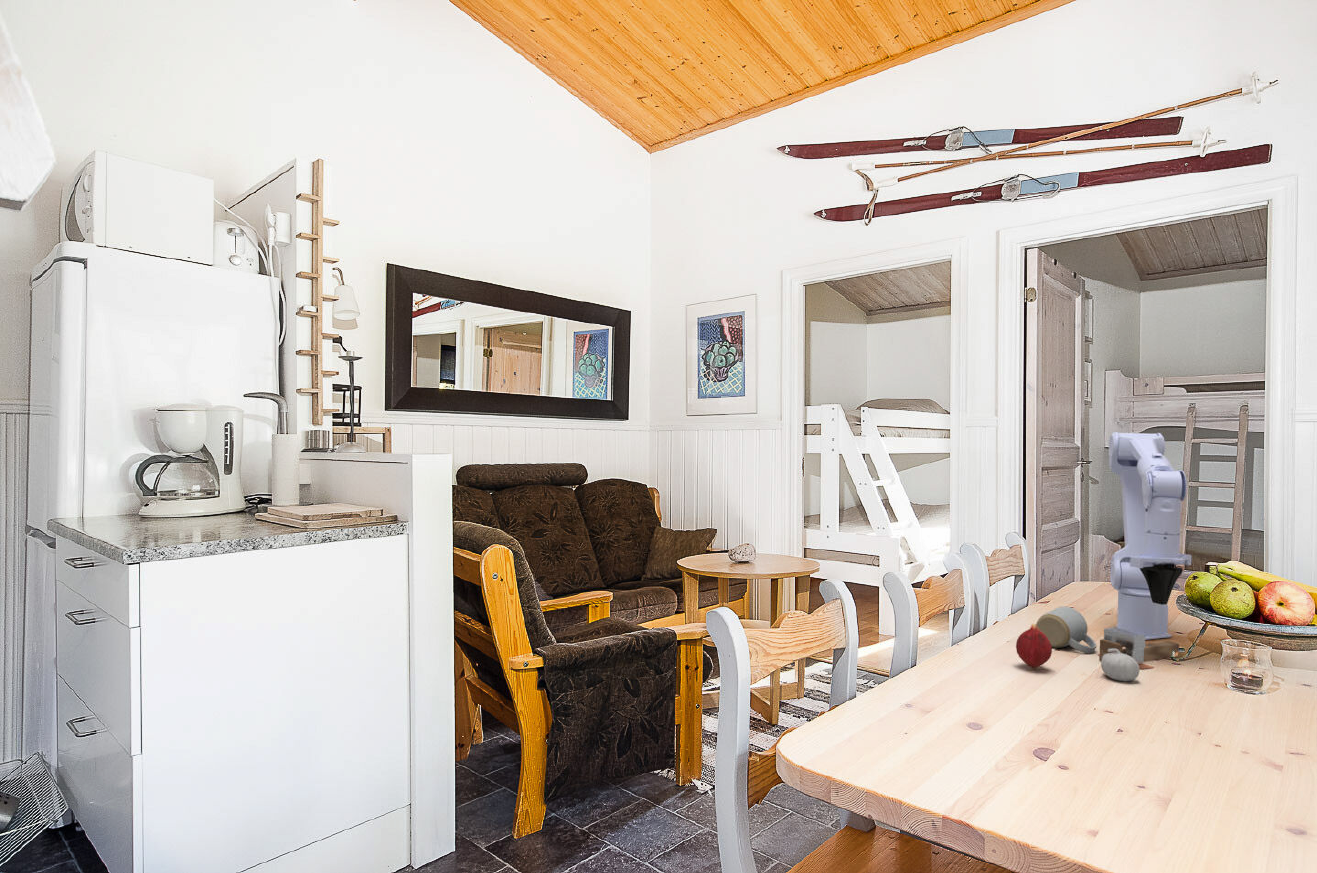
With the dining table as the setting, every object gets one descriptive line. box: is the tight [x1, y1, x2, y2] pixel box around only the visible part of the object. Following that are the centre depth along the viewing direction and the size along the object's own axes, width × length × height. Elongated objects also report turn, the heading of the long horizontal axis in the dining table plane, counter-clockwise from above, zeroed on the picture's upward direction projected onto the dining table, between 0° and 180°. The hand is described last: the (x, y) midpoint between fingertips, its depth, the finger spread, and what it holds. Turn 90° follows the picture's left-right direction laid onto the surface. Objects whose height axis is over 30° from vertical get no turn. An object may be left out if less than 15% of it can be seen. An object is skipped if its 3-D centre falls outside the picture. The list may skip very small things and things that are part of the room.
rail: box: [1097, 638, 1180, 670], centre depth 145 cm, size 18×9×4 cm, turn 112°
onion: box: [1015, 623, 1053, 670], centre depth 137 cm, size 6×6×8 cm
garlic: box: [1100, 649, 1140, 682], centre depth 133 cm, size 6×5×5 cm
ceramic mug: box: [1036, 606, 1098, 654], centre depth 152 cm, size 10×8×7 cm
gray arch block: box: [1103, 626, 1146, 664], centre depth 143 cm, size 3×6×5 cm, turn 22°
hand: (1159, 603), depth 146 cm, fingers closed
